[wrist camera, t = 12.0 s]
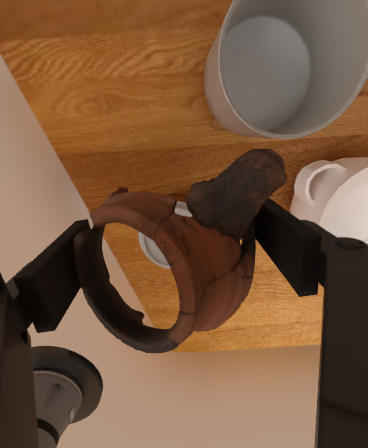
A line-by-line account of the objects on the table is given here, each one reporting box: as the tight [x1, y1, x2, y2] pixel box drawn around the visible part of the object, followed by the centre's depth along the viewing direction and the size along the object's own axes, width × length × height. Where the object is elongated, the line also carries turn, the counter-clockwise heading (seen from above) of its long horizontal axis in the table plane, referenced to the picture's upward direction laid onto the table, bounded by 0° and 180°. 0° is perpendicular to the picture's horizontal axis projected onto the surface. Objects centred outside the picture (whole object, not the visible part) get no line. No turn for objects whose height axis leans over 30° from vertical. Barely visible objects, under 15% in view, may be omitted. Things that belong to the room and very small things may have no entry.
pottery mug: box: [73, 149, 287, 353], centre depth 14 cm, size 12×10×8 cm
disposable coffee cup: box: [138, 194, 192, 269], centre depth 37 cm, size 10×10×12 cm
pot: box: [290, 157, 368, 245], centre depth 38 cm, size 22×17×12 cm
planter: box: [204, 0, 368, 139], centre depth 28 cm, size 13×13×18 cm
